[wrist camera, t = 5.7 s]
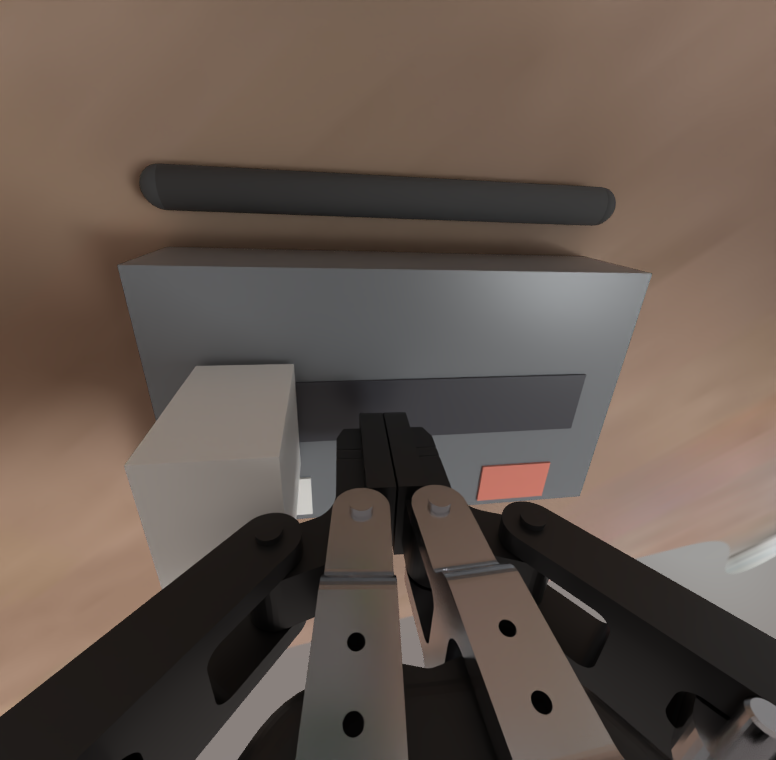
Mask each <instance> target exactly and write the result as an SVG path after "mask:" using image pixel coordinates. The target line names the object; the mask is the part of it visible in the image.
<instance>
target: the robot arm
mask: <svg viewBox="0 0 776 760" xmlns="http://www.w3.org/2000/svg"><path fill="white" fill-rule="evenodd" d="M392 546H393V552H394V555H395V554H404V558H405V564H406V566H405V585H406V589H407V593H408V597H409V601H410V604H411V608H412V612H413V616H414V620H415V624H416V628H417V632H418V636H419V640H420V644H421V648H422V652H423V658H424V668H422V667H416V666H411V665H406V664H402V653H401V639H400V638H401V637H400V622H399V605H398V590H397V579H396V575H394V570H393V553H392ZM549 579H550V580H551V581H553V582H554V583H556V584H557V585H559V586H560V587H562V588H563V589H565V590H566V591H567V592H569V593H571V594H572V595H573V596H575V597H576V598H578V599H579V600H581V601H582V602H584V603H585V604H586V605H588V606H589V607H591V608H592V609H594V610H595V611H597V612H598V613H599V614H600V615H601V616H602V617H603V618H604V619H605V620H606V622H607V623H603V622H601V621H599V620H598V619H596V618H595V617H593V616H592V615H590V614H589V613H587V612H586V611H585V610H583V609H582V608H580V607H579V606H577V605H576V604H574V603H573V602H571V601H570V600H569V599H567V598H566V597H564V596H563V595H562V594H560V593H559V592H557V591H556V590H554V589H553V588H551V587H550V586H549V585H547V583H548V580H549ZM313 617H315V619H314V626H313V633H312V641H311V648H310V656H309V663H308V671H307V678H306V685H305V690H303V691H301V692H299V693H297V694H296V695H295V696H293V697H292V698H291V699H289V700H288V701H287V702H285V703H284V704H283V705H282V706H281V707H280V708H279V709H277V710H276V711H275V712H274V713H273V714H272V715H271V716H270V717H269V719H268V720H267V721H266V722H265V723H264V724H263V726H262V727H261V728H260V729H259V730H258V732H257V733H256V734H255V736H254V737H253V738H252V740H251V741H250V743H249V744H248V746H247V747H246V748H245V750H244V751H243V753H242V754H241V755H240V757H239V758H238V760H776V639H774V638H773V637H771V636H769V635H767V634H766V633H764V632H762V631H760V630H759V629H757V628H755V627H753V626H752V625H750V624H748V623H746V622H744V621H743V620H741V619H739V618H737V617H735V616H734V615H732V614H730V613H729V612H727V611H725V610H723V609H722V608H720V607H718V606H716V605H715V604H713V603H711V602H709V601H708V600H706V599H704V598H702V597H701V596H699V595H697V594H695V593H694V592H692V591H690V590H688V589H686V588H685V587H683V586H681V585H679V584H677V583H676V582H674V581H672V580H670V579H669V578H667V577H665V576H664V575H662V574H660V573H658V572H657V571H655V570H653V569H651V568H650V567H648V566H646V565H644V564H642V563H641V562H639V561H637V560H636V559H634V558H632V557H630V556H629V555H627V554H625V553H623V552H622V551H620V550H618V549H616V548H614V547H613V546H611V545H609V544H607V543H606V542H604V541H602V540H600V539H599V538H597V537H595V536H593V535H592V534H590V533H588V532H586V531H585V530H583V529H581V528H579V527H578V526H576V525H574V524H572V523H571V522H569V521H567V520H565V519H564V518H562V517H560V516H558V515H557V514H555V513H553V512H551V511H549V510H548V509H546V508H544V507H542V506H540V505H537V504H534V503H531V502H514V503H511V504H509V505H507V506H506V507H505V508H504V510H503V512H502V515H501V514H496V513H491V512H486V511H482V510H478V509H475V508H472V507H470V506H468V504H467V502H466V500H465V499H464V497H463V496H462V495H461V494H460V493H458V492H457V491H456V490H454V489H452V488H451V485H450V482H449V480H448V477H447V474H446V472H445V469H444V467H443V464H442V461H441V459H440V457H439V453H438V451H437V448H436V445H435V443H434V440H433V437H432V435H430V434H429V433H428V432H427V431H426V430H425V429H424V428H423V427H410V425H409V421H408V418H407V415H406V412H383V414H382V413H359V429H343V430H342V431H341V433H340V434H339V436H338V437H337V441H336V498H335V501H334V503H333V505H332V506H331V508H330V509H329V510H328V511H327V512H326V513H324V514H323V515H321V516H319V517H317V518H315V519H312V520H309V521H306V522H303V523H300V524H299V522H298V521H297V520H296V519H295V518H294V517H292V516H290V515H288V514H284V513H267V514H263V515H260V516H258V517H256V518H254V519H252V520H250V521H249V522H248V523H246V524H245V525H244V526H243V527H241V528H240V529H239V530H237V531H236V532H235V533H234V534H232V535H231V536H230V537H229V538H227V539H226V540H225V541H223V542H222V543H221V544H220V545H218V546H217V547H216V548H215V549H213V550H212V551H211V552H209V553H208V554H207V555H206V556H204V557H203V558H202V559H201V560H199V561H198V562H197V563H195V564H194V565H193V566H192V567H190V568H189V569H188V570H187V571H185V572H184V573H183V574H181V575H180V576H179V577H178V578H176V579H175V580H174V581H173V582H171V583H170V584H169V585H167V586H166V587H165V588H164V589H162V590H161V591H160V592H159V593H157V594H156V595H155V596H153V597H152V598H151V599H150V600H148V601H147V602H146V603H145V604H143V605H142V606H141V607H139V608H138V609H137V610H136V611H134V612H133V613H132V614H131V615H129V616H128V617H127V618H125V619H124V620H123V621H122V622H120V623H119V624H118V625H117V626H115V627H114V628H113V629H111V630H110V631H109V632H108V633H106V634H105V635H104V636H103V637H101V638H100V639H99V640H97V641H96V642H95V643H94V644H92V645H91V646H90V647H89V648H87V649H86V650H85V651H83V652H82V653H81V654H80V655H78V656H77V657H76V658H75V659H73V660H72V661H71V662H69V663H68V664H67V665H66V666H64V667H63V668H62V669H61V670H59V671H58V672H57V673H55V674H54V675H53V676H52V677H50V678H49V679H48V680H47V681H45V682H44V683H43V684H41V685H40V686H39V687H38V688H36V689H35V690H34V691H33V692H31V693H30V694H29V695H28V696H26V697H25V698H24V699H22V700H21V701H20V702H19V703H17V704H16V705H15V706H14V707H12V708H11V709H10V710H8V711H7V712H6V713H5V714H3V715H2V716H1V717H0V760H195V759H196V758H197V757H198V755H199V754H200V753H201V752H202V750H203V749H204V748H205V747H206V746H207V745H208V743H209V742H210V741H211V740H212V738H213V737H214V736H215V735H216V734H217V732H218V731H219V730H220V728H222V726H223V725H224V724H225V723H226V721H227V720H228V719H229V718H230V717H231V715H232V714H233V713H234V712H235V711H236V709H237V708H238V707H239V706H240V704H241V703H242V702H243V701H244V699H245V698H246V697H247V696H248V695H249V693H250V692H251V691H252V690H253V688H254V687H255V686H256V685H257V684H258V683H259V681H260V680H261V679H262V678H263V676H264V675H265V674H266V672H268V670H269V669H270V668H271V667H272V666H273V664H274V663H275V662H276V660H277V659H278V658H279V657H280V656H281V655H282V653H283V652H284V651H285V650H286V649H287V647H288V646H289V645H290V644H291V642H292V641H293V640H294V639H295V638H296V636H297V635H298V634H299V633H300V631H301V630H302V629H303V627H304V625H305V623H306V620H308V619H311V618H313Z"/></svg>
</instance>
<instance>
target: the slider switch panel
mask: <svg viewBox="0 0 776 760" xmlns="http://www.w3.org/2000/svg"><path fill="white" fill-rule="evenodd" d="M139 184H140V189H141V192H142V193H143V195H144V197H145V198H146V199H147V200H148V201H149V202H150V203H151V204H152V205H154V206H156V207H157V208H160V209H164V210H180V211H207V212H234V213H262V214H289V215H317V216H344V217H372V218H399V219H426V220H454V221H481V222H509V223H536V224H563V225H591V226H592V225H598V224H601V223H603V222H605V221H606V220H607V219H608V218H610V216H611V215H612V214H613V212H614V209H615V206H616V200H615V197H614V194H613V193H612V192H611V191H610V190H608V189H606V188H602V187H588V186H569V185H551V184H532V183H513V182H494V181H476V180H457V179H438V178H420V177H401V176H382V175H363V174H345V173H326V172H307V171H289V170H270V169H251V168H232V167H214V166H195V165H176V164H152V165H149V166H148V167H146V168H145V169H144V170H143V171H142V173H141V175H140V180H139Z"/></svg>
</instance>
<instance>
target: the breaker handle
mask: <svg viewBox="0 0 776 760" xmlns="http://www.w3.org/2000/svg"><path fill="white" fill-rule="evenodd" d="M300 465H301V462H300V447H299V432H298V417H297V402H296V387H295V372H294V364H264V365H217V366H195V368H194V369H193V371H192V372H191V373H190V375H189V376H188V378H187V379H186V380H185V382H184V383H183V384H182V386H181V387H180V389H179V390H178V391H177V393H176V394H175V396H174V397H173V398H172V400H171V401H170V403H169V404H168V405H167V407H166V408H165V410H164V411H163V412H162V414H161V415H160V416H159V418H158V419H157V421H156V422H155V423H154V425H153V426H152V428H151V429H150V430H149V432H148V433H147V435H146V436H145V437H144V439H143V440H142V442H141V443H140V444H139V446H138V447H137V448H136V450H135V451H134V453H133V454H132V455H131V457H130V458H129V460H128V461H127V462H126V464H125V465H124V467H125V471H126V474H127V477H128V480H129V484H130V487H131V490H132V493H133V497H134V500H135V503H136V506H137V510H138V513H139V516H140V519H141V523H142V526H143V529H144V532H145V536H146V539H147V542H148V545H149V549H150V552H151V555H152V558H153V562H154V565H155V568H156V571H157V575H158V578H159V581H160V584H161V587H162V589H164V588H165V587H166V586H167V585H169V584H170V583H171V582H173V581H174V580H175V579H176V578H178V577H179V576H180V575H181V574H183V573H184V572H185V571H187V570H188V569H189V568H190V567H192V566H193V565H194V564H195V563H197V562H198V561H199V560H201V559H202V558H203V557H204V556H206V555H207V554H208V553H209V552H211V551H212V550H213V549H215V548H216V547H217V546H218V545H220V544H221V543H222V542H223V541H225V540H226V539H227V538H229V537H230V536H231V535H232V534H234V533H235V532H236V531H237V530H239V529H240V528H241V527H243V526H244V525H245V524H246V523H248V522H249V521H250V520H252V519H254V518H256V517H258V516H260V515H263V514H267V513H284V514H288V515H290V516H292V517H294V518H295V519H296V517H297V504H298V491H299V478H300Z"/></svg>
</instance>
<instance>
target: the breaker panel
mask: <svg viewBox="0 0 776 760" xmlns="http://www.w3.org/2000/svg"><path fill="white" fill-rule="evenodd" d="M117 266H118V270H119V274H120V278H121V282H122V286H123V290H124V294H125V298H126V302H127V306H128V310H129V314H130V318H131V322H132V326H133V330H134V334H135V338H136V342H137V346H138V350H139V354H140V358H141V362H142V366H143V370H144V374H145V378H146V382H147V386H148V390H149V394H150V398H151V402H152V406H153V410H154V414H155V419H156V421H157V419H158V418H159V416H160V415H161V414H162V412H163V411H164V410H165V408H166V407H167V405H168V404H169V403H170V401H171V400H172V398H173V397H174V396H175V394H176V393H177V391H178V390H179V389H180V387H181V386H182V384H183V383H184V382H185V380H186V379H187V378H188V376H189V375H190V373H191V372H192V371H193V369H194V368H195V366H217V365H264V364H294V372H295V387H296V402H297V417H298V432H299V447H300V462H301V465H300V478H299V491H298V504H297V517H296V519H303V518H315V517H319V516H321V515H323V514H324V513H326V512H327V511H328V510H329V509H330V508H331V506H332V505H333V503H334V501H335V498H336V441H337V437H338V436H339V434H340V433H341V431H342V430H343V429H359V413H382V414H383V412H406V415H407V418H408V421H409V425H410V427H423V428H424V429H425V430H426V431H427V432H428V433H429V434H430V435H432V437H433V440H434V443H435V445H436V448H437V451H438V453H439V457H440V459H441V461H442V464H443V467H444V469H445V472H446V474H447V477H448V480H449V482H450V485H451V488H452V489H454V490H456V491H457V492H458V493H460V494H461V495H462V496H463V497H464V499H465V500H466V502H467V504H468V505H476V504H488V503H501V502H513V501H525V500H538V499H550V498H562V497H575V496H580V493H581V490H582V487H583V484H584V481H585V478H586V475H587V472H588V469H589V466H590V463H591V460H592V457H593V454H594V450H595V447H596V444H597V441H598V438H599V435H600V432H601V429H602V426H603V423H604V420H605V417H606V414H607V411H608V408H609V404H610V401H611V398H612V395H613V392H614V389H615V386H616V383H617V380H618V377H619V374H620V371H621V368H622V365H623V362H624V358H625V355H626V352H627V349H628V346H629V343H630V340H631V337H632V334H633V331H634V328H635V325H636V322H637V319H638V315H639V312H640V309H641V306H642V303H643V300H644V297H645V294H646V291H647V288H648V285H649V282H650V279H651V276H652V273H648V272H644V271H640V270H636V269H632V268H628V267H624V266H620V265H616V264H612V263H608V262H604V261H600V260H596V259H592V258H588V257H584V256H546V255H502V254H459V253H415V252H372V251H328V250H284V249H241V248H197V247H165V248H163V249H160V250H157V251H154V252H152V253H149V254H146V255H143V256H141V257H138V258H135V259H132V260H130V261H127V262H124V263H121V264H118V265H117Z"/></svg>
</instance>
